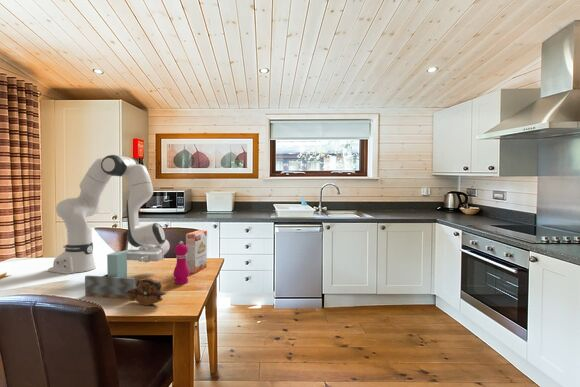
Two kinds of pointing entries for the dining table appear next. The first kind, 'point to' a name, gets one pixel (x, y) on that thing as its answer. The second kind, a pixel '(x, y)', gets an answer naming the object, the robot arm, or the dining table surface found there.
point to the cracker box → (196, 250)
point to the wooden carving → (146, 292)
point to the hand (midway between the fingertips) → (130, 259)
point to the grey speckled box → (108, 286)
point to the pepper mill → (181, 264)
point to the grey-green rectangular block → (117, 264)
